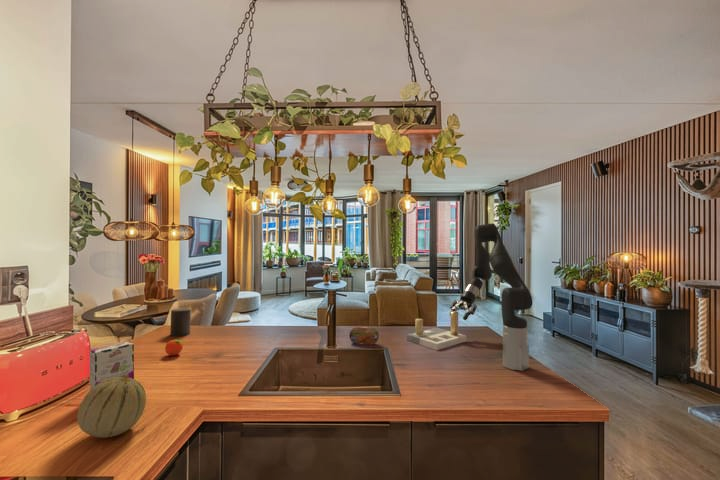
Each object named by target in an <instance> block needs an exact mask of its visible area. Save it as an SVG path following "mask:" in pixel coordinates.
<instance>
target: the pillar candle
mask: <svg viewBox="0 0 720 480" xmlns="http://www.w3.org/2000/svg"><path fill="white" fill-rule="evenodd" d="M170 310H171V311H170V329H169V330H170V332H169V334H170V336H172V337H183V336H187V335H190V334H191V317H192V313H191V312H192V311H191V310H192V309H191V308H190V307H177V308H173V309H170Z"/></svg>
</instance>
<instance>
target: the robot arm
mask: <svg viewBox="0 0 720 480" xmlns="http://www.w3.org/2000/svg"><path fill="white" fill-rule="evenodd" d="M474 242H475V249H476V250H475V251H476V261H475V262H476V263H475V266H474V267H473V268H472V273H471V277H470V280H469V282H468V283H467V285H466V287H465V288H464V290H463V291H462V293H461V295H460V296H459V297H460V299H459V300H456V299H454V300H453V301H452V302H451V304H450V306H449V309H450V312H449V316H450V317H451V311H456V312H458V311H461V310H462V311H466V312H465V313H464V315H463V317H462V319H463V320H464V321H467V320H468V318H469V316H471V315H475V313H476V310H477V308H478V306H477V304H476V302H475V301H476V299H477V298H478V296H479V293H480V291H481V290H482V287H483V284H484V283H483V281H489V280H490V279H491V278H492V274H493V272H494V273H495V274H496V275H497V276H498V277H499V278H500V279H501V280H503V281H505V282H506V283H507V284H508V285H509V286H510V287H505V288H503V289H502V291H501V318H502V366H503V368H507V369H509V370H513V371H520V372H524V371H525V370H527V369H529V368H530V345H529V344H528V321H527V320H526V319H525V318H523V317H520V316H517V315H516V311H518V310H519V311H525V310H530V309H531V308H532V306H533V297H532V294H531V292H530V290H529V288H528V287H527V285H526V283H525V282H524V281H523V280H522V278H521V276H520V274H519V273H518V271H517V268H516V266H515V264H514V262H513V260H512V258H511V255H510V254H509V253H508V250H507V248H506V247H505V245H504V242H503V240H502V237H501V234H500V232H499V230H498V227H497V225H496V224H495V223H484V224H479V225H476V226H475V227H474ZM489 242H493V247H492V250H491V251H490V253H489V251H488V250H487V249H486V248H485V246H484V245H483V243H489ZM482 280H483V281H482Z"/></svg>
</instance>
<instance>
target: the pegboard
mask: <svg viewBox="0 0 720 480" xmlns="http://www.w3.org/2000/svg"><path fill="white" fill-rule="evenodd" d="M414 321H415V322H414V323H415V325H414V327H415V330H414V331H415V332H412V333H407V334H406V341H409V342H412V343H415V344H418V345H421V346H424V347H426V348H430V349H432V350H435V351H440V350H442V349H446V348H449V347H452V346H455V345H458V344H462V343H465V342H467V335H465V334H462V333H458V335H457V336H454V335H451V334H450V330H447V329H443V328H439V327H432V328H428V329H424V319H423V318H415V320H414Z"/></svg>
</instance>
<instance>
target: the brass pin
mask: <svg viewBox="0 0 720 480" xmlns="http://www.w3.org/2000/svg"><path fill="white" fill-rule="evenodd" d="M450 312H451V316H450V330H449V331H450V334H451V335H454V336H457V335H458V334H459V311H451V310H450Z"/></svg>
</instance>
